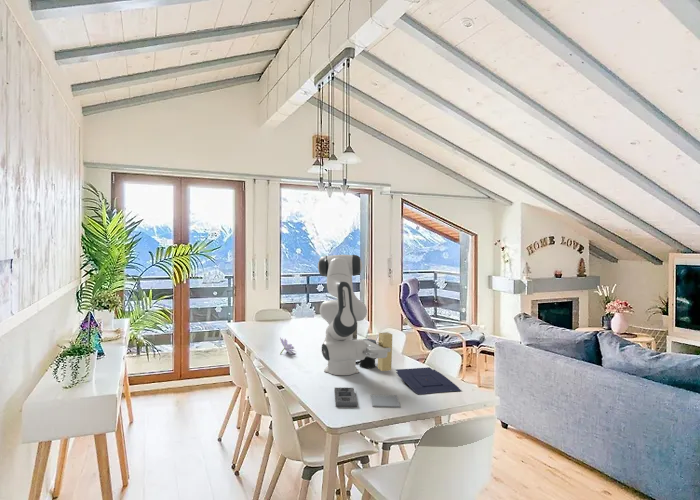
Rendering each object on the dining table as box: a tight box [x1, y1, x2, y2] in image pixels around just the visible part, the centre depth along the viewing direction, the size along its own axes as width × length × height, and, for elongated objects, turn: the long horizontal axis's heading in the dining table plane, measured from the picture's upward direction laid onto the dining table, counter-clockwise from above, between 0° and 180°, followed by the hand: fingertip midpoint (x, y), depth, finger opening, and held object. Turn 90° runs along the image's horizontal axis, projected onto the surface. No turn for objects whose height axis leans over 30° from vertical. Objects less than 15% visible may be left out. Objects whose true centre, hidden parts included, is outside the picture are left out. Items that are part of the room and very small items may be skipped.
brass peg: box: [377, 331, 393, 372], centre depth 206 cm, size 4×4×16 cm
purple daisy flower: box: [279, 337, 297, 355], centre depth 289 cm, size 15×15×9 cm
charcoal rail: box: [334, 387, 358, 408], centre depth 209 cm, size 20×9×2 cm, turn 3°
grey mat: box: [370, 394, 401, 408], centre depth 207 cm, size 14×12×1 cm
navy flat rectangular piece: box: [395, 366, 463, 395], centre depth 235 cm, size 24×30×4 cm
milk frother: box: [356, 338, 378, 369], centre depth 268 cm, size 14×16×15 cm
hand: (386, 347), depth 207 cm, fingers closed on brass peg, 4 cm apart
